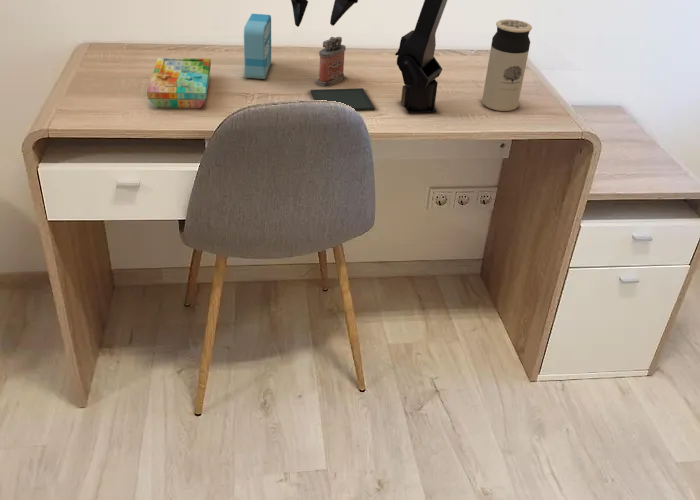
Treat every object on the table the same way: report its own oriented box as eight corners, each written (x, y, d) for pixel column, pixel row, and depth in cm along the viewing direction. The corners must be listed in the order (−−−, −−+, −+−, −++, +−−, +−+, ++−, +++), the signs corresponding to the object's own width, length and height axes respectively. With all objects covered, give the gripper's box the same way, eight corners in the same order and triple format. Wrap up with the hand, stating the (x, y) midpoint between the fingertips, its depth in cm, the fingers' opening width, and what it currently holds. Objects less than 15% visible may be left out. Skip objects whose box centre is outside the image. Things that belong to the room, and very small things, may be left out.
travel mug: (479, 96, 170) (492, 17, 160) (514, 99, 170) (529, 20, 160) (483, 110, 163) (497, 29, 153) (520, 113, 163) (536, 31, 153)
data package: (264, 81, 170) (263, 29, 163) (244, 79, 170) (243, 27, 163) (271, 63, 180) (271, 13, 173) (252, 61, 180) (252, 11, 173)
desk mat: (362, 90, 169) (362, 88, 168) (374, 110, 160) (374, 107, 160) (310, 92, 166) (310, 89, 166) (319, 112, 157) (319, 109, 157)
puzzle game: (146, 88, 151) (157, 54, 167) (148, 109, 153) (159, 74, 170) (205, 89, 152) (210, 55, 169) (206, 110, 155) (211, 75, 171)
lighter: (335, 74, 176) (337, 32, 171) (347, 77, 175) (349, 35, 169) (314, 83, 171) (316, 40, 165) (326, 87, 169) (328, 44, 164)
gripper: (346, -59, 164) (330, 8, 174) (273, -63, 154) (260, 9, 164) (374, -38, 158) (356, 30, 168) (300, -40, 148) (284, 33, 158)
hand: (314, 25), depth 164 cm, fingers open, 9 cm apart
